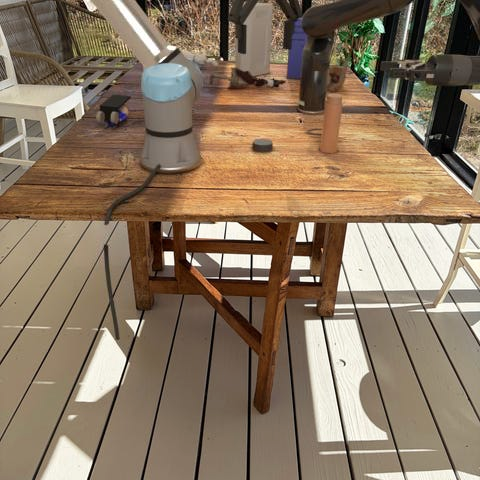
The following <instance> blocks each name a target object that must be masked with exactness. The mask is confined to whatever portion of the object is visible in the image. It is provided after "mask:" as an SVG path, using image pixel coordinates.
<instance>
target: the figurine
mask: <svg viewBox="0 0 480 480" xmlns="http://www.w3.org/2000/svg"><path fill="white" fill-rule="evenodd" d="M230 69H231V72H230V73H231V74H230V76H229V75H225V74H213V73H211V74H210V78H209V85H212V84H213V83H214V79H215V78H216V79H223V80H227V81H229V84H228V88H229V89H241V88H247V87H249V86H255V87H256V88H262V87H268V88H271V89H273V88H280V86H281V85H284V84H286V83H287V80H285V79H275V78H274V77H272V78H265V77H262V78H261V77H257V76H252V75H251V73H250V72H249V71H245V72H244V71H242V70H240V69H237V68H235V67H232V66H231V67H230Z"/></svg>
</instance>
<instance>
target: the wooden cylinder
mask: <svg viewBox="0 0 480 480" xmlns="http://www.w3.org/2000/svg"><path fill="white" fill-rule="evenodd" d="M343 105H344V102H343V95H342V94H340V93H328V94H327V95H326V101H325V107H324V113H323V117H322V127H321V136H320V147H319V151H320V152H322V153H324V154H334V153H337V151H338V146H339V145H338V144H339V138H340V129H341V120H342V113H343Z"/></svg>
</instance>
